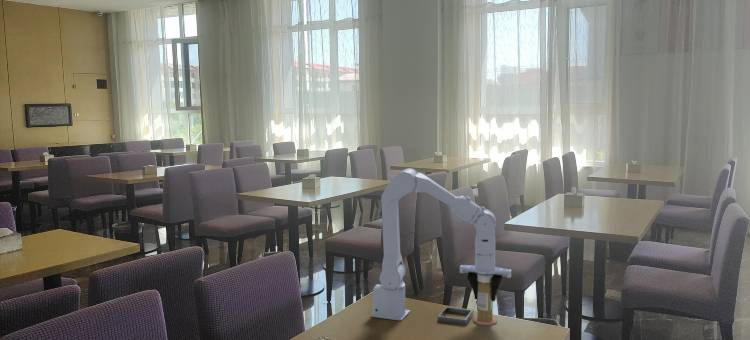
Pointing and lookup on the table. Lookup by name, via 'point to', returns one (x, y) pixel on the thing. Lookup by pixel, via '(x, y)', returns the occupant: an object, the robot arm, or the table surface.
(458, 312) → the square socket
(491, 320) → the terracotta coaster
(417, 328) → the table surface
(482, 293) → the sprinkles bottle
